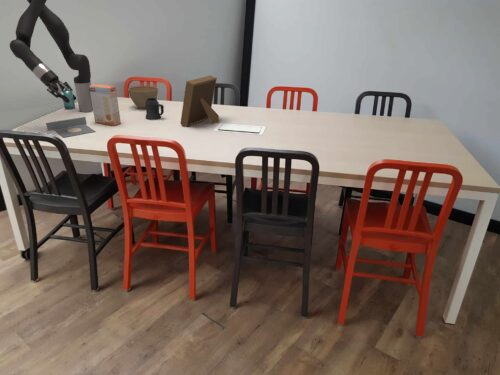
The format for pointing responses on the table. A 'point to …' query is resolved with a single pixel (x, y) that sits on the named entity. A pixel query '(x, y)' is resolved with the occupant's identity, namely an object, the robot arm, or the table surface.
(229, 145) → the table surface
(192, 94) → the photo frame
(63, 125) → the low wall
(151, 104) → the mug
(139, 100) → the flower pot
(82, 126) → the mat
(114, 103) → the cracker box
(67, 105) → the tin
